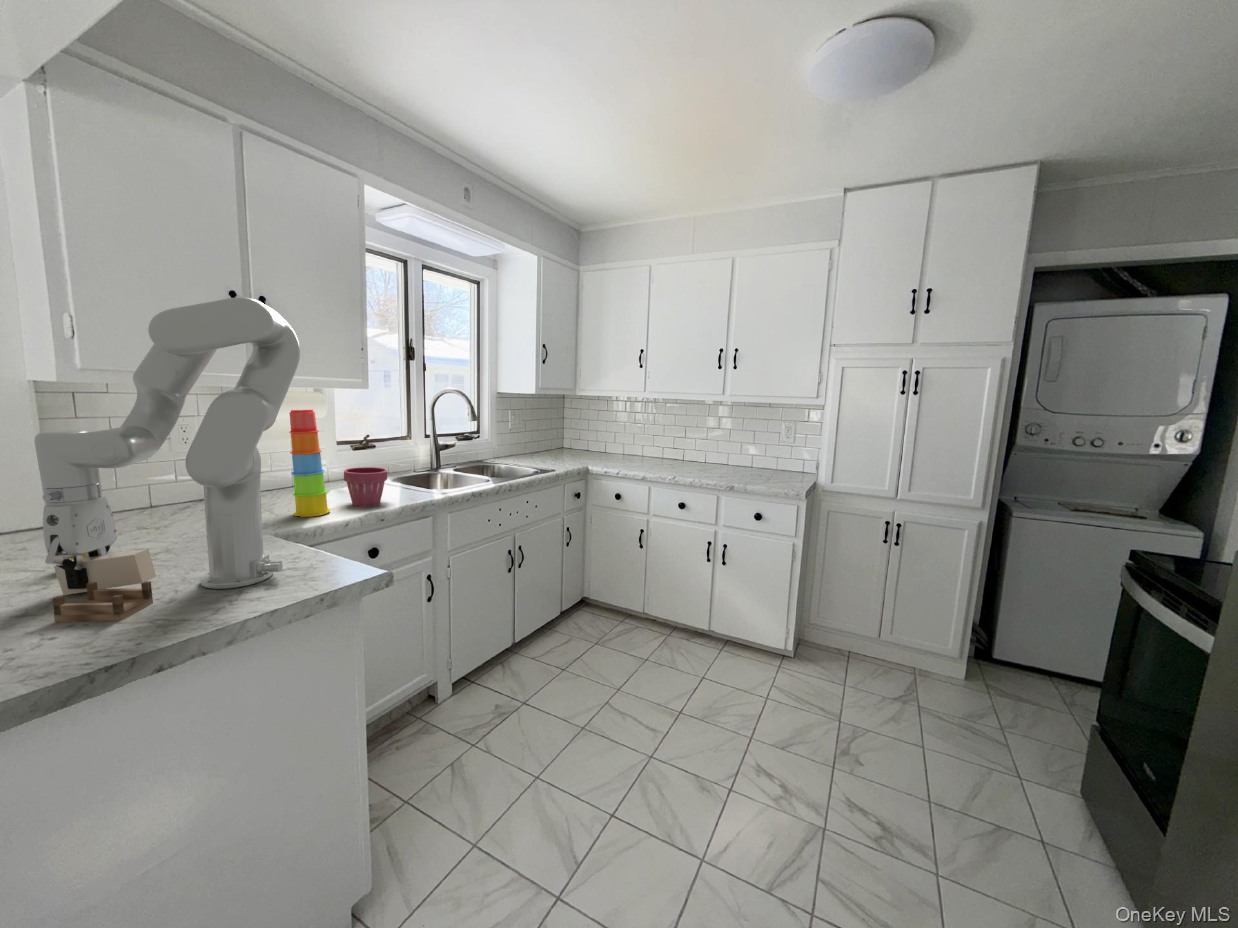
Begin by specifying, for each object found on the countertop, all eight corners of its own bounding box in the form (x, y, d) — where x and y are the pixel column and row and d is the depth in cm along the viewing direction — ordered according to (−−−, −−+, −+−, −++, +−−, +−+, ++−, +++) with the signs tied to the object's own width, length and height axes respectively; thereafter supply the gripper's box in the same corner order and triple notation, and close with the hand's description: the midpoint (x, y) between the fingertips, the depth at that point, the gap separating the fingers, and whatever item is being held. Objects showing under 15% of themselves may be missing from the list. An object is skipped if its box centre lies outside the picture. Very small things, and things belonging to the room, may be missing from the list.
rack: (153, 602, 94) (151, 581, 93) (120, 620, 87) (118, 597, 86) (93, 603, 92) (91, 581, 92) (55, 621, 85) (52, 598, 85)
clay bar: (156, 576, 100) (148, 548, 99) (142, 583, 97) (133, 554, 96) (80, 587, 98) (70, 559, 97) (63, 595, 95) (53, 566, 94)
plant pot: (396, 503, 181) (395, 469, 179) (359, 510, 169) (358, 474, 167) (373, 498, 188) (372, 465, 187) (336, 504, 176) (335, 469, 175)
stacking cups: (308, 519, 156) (304, 410, 151) (286, 514, 159) (281, 409, 154) (337, 512, 165) (333, 410, 161) (315, 508, 169) (311, 408, 164)
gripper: (54, 503, 86) (70, 600, 89) (131, 485, 103) (143, 568, 105) (4, 504, 85) (22, 603, 88) (90, 485, 101) (103, 569, 104)
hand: (88, 583), depth 97 cm, fingers closed on clay bar, 3 cm apart
